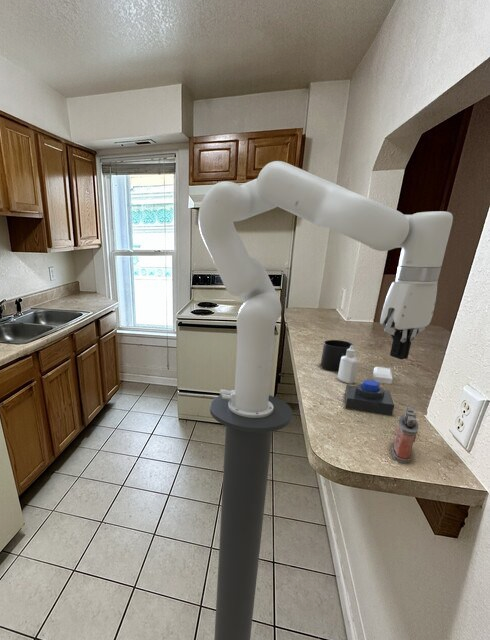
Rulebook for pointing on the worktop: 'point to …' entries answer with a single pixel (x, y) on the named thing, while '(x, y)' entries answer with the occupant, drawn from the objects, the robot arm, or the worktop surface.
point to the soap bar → (382, 375)
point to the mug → (333, 354)
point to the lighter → (405, 436)
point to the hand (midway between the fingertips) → (398, 357)
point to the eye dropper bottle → (348, 367)
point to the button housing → (368, 400)
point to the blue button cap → (370, 385)
